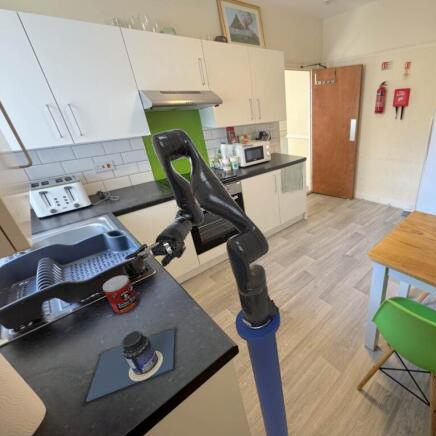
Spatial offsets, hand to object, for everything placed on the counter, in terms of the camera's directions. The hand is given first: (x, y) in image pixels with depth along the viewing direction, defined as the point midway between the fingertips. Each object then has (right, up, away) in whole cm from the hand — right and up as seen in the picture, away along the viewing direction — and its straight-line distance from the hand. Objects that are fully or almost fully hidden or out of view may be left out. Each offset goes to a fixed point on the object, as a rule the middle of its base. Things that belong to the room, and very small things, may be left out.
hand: (148, 265), depth 69 cm
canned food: (-19, -19, +19) cm, 33 cm away
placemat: (-3, -27, -1) cm, 27 cm away
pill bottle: (+1, -27, -3) cm, 28 cm away
